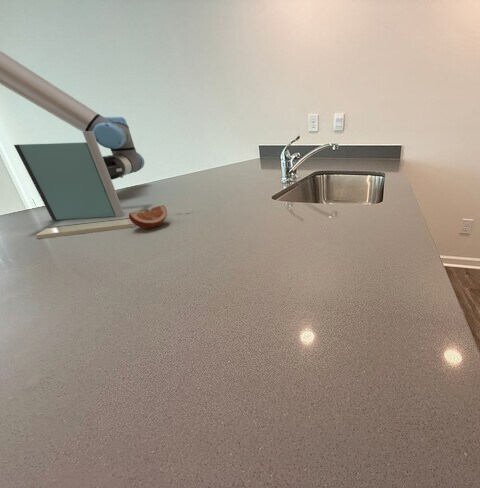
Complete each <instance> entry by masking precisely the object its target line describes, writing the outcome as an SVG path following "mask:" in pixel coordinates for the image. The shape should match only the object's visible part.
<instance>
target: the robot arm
mask: <svg viewBox="0 0 480 488" xmlns="http://www.w3.org/2000/svg"><path fill="white" fill-rule="evenodd" d="M0 85H1V86H3V87H5V88H6V89H7V90H10V91H12V92H13V93H15V94H17V95H18V96H20V97H22V98H23V99H25V100H27V101H29V102H31V103H32V104H34V105H35V106H37V107H39V108H41V109H43V110H44V111H46V112H48V113H49V114H51V115H53V116H55V117H56V118H58V119H59V120H61V121H63V122H65V123H66V124H68V125H70V126H71V127H73V128H75V129H76V130H79V131H80V132H82V133H83V131H93V133H94V136H95V138H96V141H97V144H98V145H99V146H101V147H104V148H106V149H109V150H110V152H111V154H108V155H102V157H103V159H104V162H105V165H106V167H107V170H108V172H109V175H110V178H111V180H112V181H113V180H116V179H119V178H121V179H123V178H124V176H127V175H130V174H133V173H137V172H139V171H140V170H142V169H143V168H144V167H145V159H144V157H143V156H142V154H140V153H139V152H138V151H137V149H136V147H135V144H134V141H133V138H132V134H131V131H130V126H129V125H128V122H127V120H126V118H125V117H123V116H103V115H101V114H100V113H98V112H97V111H95V110H93V109H92V108H90V107H89V106H87V105H86V104H84V103H83V102H82V101H79V100H78V99H76V98H74V97H73V96H72V95H70V94H68V93H67V92H65V91H64V90H62V89H61V88H59V87H58V86H56V85H54V84H53V83H51V82H50V81H48V80H47V79H46V78H44V77H42V76H40V75H39V74H38V73H36V72H34V71H33V70H31V69H29V68H28V67H27V66H25V65H23V64H22V63H20V62H19V61H17V60H15V59H14V58H12V57H11V56H10V55H8V54H7V53H5V52H3V51H2V50H0Z"/></svg>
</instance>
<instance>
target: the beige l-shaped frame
mask: <svg viewBox="0 0 480 488" xmlns="http://www.w3.org/2000/svg"><path fill="white" fill-rule="evenodd" d="M82 135H83V137H84V139H85V142H87V145H88V147H89V150H90V152H91V155H92V157H93V160H94V162H95V165H96V168H97V170H98V173H99V175H100V178H101V180H102V183H103V185H104V188H105V190H106V193H107V195H108V198H109V200H110V203H111V205H112V208H113V210H114V213H115V215H114V216H115V217H116V218H117V219H109V220H101V221H91V222H84V223H75V224H73V223H72V224H67V225H57V226H48V227H47V228H44V229H43V230H42V231H40V232H38V233H37V234H35V237H36V239H37V240H40V239H49V238H56V237H64V236H73V235H79V234H88V233H96V232H105V231H106V232H107V231H112V230H121V229H129V228H134V227H136V225H135V224H134V223H133V222H132V221H131V220H130V218H129V217H127V218H123V217H125V215H126V214H125V212H124V209H123V207H122V205H121V202H120V199H119V196H118V194H117V191H116V189H115V185H114V183H113V180H111V178H110V175H109V172H108V170H107V167H106V165H105V162H104V159H103V154H102V151H101V149H100V145H99V144H98V143H97V141H96V138H95V136H94V133H93V131H83V132H82Z"/></svg>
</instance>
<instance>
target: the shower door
mask: <svg viewBox="0 0 480 488" xmlns="http://www.w3.org/2000/svg"><path fill="white" fill-rule="evenodd" d="M13 146H14V148H15V150H16V152H17V154H18V156H19V158H20V161H21V162H22V164H23V166H24V167H25V170H26V171H27V173H28V175H29V177H30V179H31V181H32V183H33V185H34V187H35V189H36V192H37V193H38V195H39V197H40V199H41V201H42V202H43V205H44V207H45V208H46V210H47V213H48V214H49V216H50V218H51V220H52V221H56V220H71V219H72V220H73V219H83V218H100V217H111V216H113V217H114V216H116V215H115V213H114V210H113V208H112V205H111V203H110V200H109V198H108V195H107V193H106V190H105V188H104V185H103V183H102V180H101V178H100V175H99V173H98V170H97V168H96V165H95V162H94V160H93V157H92V155H91V152H90V150H89V147H88V145H87V142H86V141H85V142H84V141H83V142H54V143H53V142H52V143H25V144H24V143H23V144H19V143H18V144H13Z"/></svg>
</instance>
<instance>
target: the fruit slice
mask: <svg viewBox="0 0 480 488" xmlns="http://www.w3.org/2000/svg"><path fill="white" fill-rule="evenodd" d="M167 215H168V210H167V208H166V206H165V205H164V204H162V205H158V206H155V207H151V208H150V209H142V210H141V209H140V210H138V211H137V210H136V211H133V212H132V211H131V212H129V214H128V218H130V220H131V221H132V222H133V223H134V224H135V226H137V227H139V228H142V229H151V228H156V227H158V226H160V225H161V224H163V223H164V221H165V220H166V219H167Z"/></svg>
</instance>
